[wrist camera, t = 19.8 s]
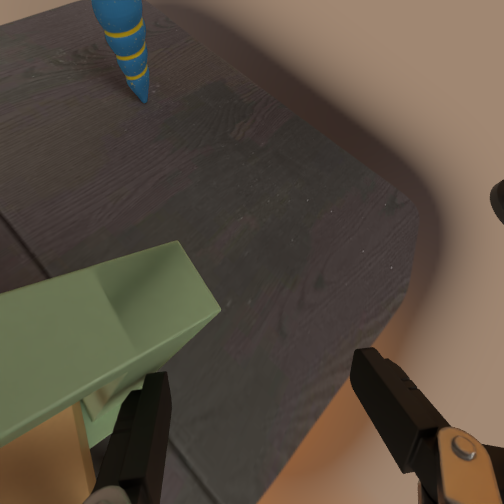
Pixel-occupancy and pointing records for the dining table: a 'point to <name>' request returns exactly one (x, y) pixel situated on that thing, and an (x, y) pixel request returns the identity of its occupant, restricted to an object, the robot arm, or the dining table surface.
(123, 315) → the hook
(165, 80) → the dining table surface
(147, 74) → the ornament
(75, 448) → the chair
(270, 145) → the dining table surface
